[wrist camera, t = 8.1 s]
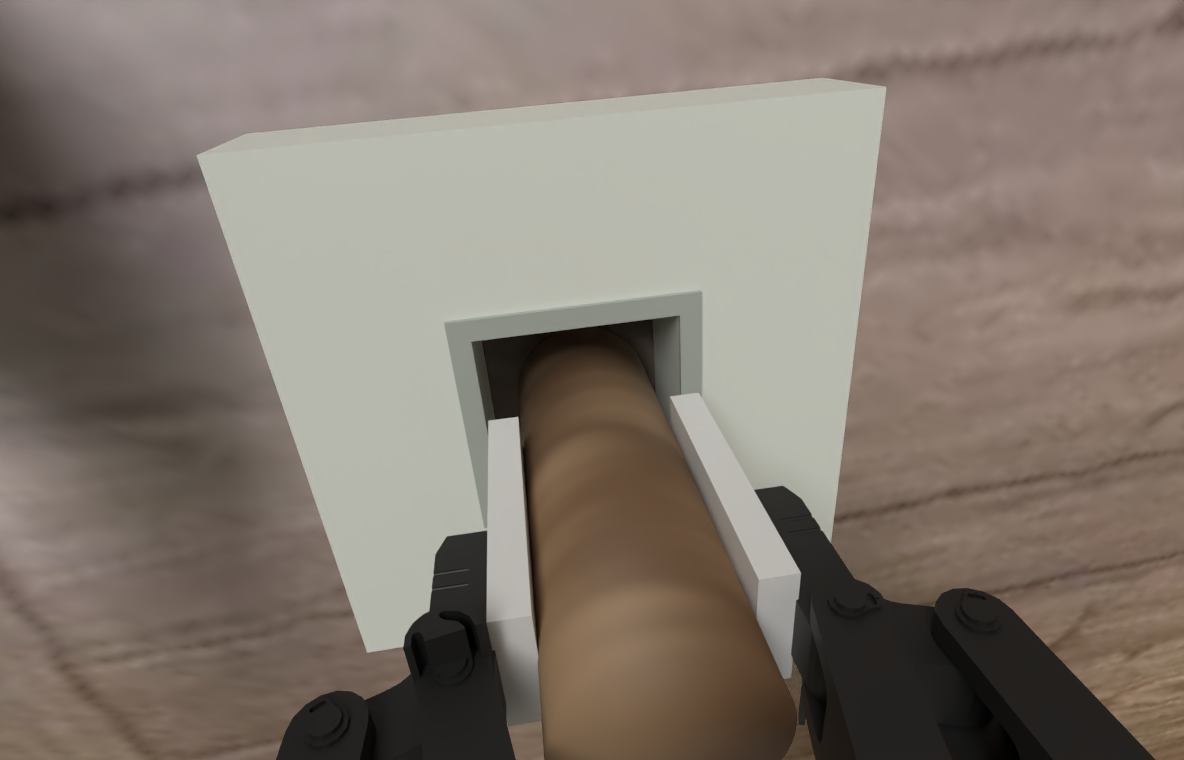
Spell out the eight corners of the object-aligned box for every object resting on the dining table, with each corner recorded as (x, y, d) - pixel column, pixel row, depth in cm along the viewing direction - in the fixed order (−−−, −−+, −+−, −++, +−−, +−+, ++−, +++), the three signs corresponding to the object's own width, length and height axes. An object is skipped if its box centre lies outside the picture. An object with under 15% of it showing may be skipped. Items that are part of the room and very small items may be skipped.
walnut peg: (525, 447, 22) (557, 840, 11) (509, 335, 20) (529, 682, 9) (646, 430, 22) (788, 798, 12) (642, 319, 20) (806, 636, 10)
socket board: (381, 577, 25) (366, 656, 22) (247, 133, 18) (193, 156, 15) (787, 514, 27) (828, 580, 24) (822, 77, 19) (889, 87, 16)
